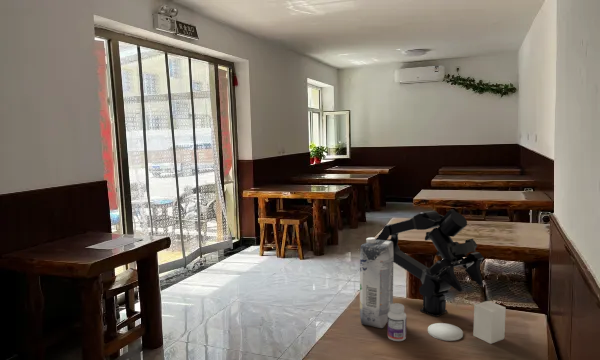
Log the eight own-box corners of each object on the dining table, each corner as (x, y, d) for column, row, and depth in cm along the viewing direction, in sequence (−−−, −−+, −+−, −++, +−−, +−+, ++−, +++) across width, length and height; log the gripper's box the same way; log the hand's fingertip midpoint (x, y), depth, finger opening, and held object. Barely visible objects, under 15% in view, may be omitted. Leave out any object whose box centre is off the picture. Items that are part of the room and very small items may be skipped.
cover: (473, 335, 134) (474, 304, 133) (486, 330, 137) (487, 300, 136) (490, 343, 129) (492, 311, 128) (504, 338, 132) (505, 307, 131)
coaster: (421, 332, 137) (421, 329, 137) (439, 322, 143) (439, 320, 143) (451, 344, 129) (451, 341, 129) (469, 333, 136) (469, 330, 136)
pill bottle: (394, 331, 138) (394, 300, 136) (409, 337, 134) (410, 305, 132) (383, 337, 134) (384, 305, 133) (399, 343, 130) (399, 311, 129)
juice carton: (394, 317, 147) (395, 236, 144) (384, 330, 138) (386, 244, 135) (368, 312, 151) (369, 233, 148) (357, 325, 142) (357, 240, 139)
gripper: (438, 234, 135) (467, 281, 127) (479, 227, 145) (509, 270, 136) (418, 254, 143) (444, 299, 135) (459, 245, 152) (485, 287, 144)
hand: (471, 288), depth 137 cm, fingers open, 9 cm apart
